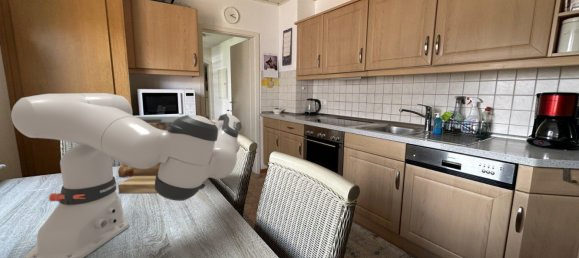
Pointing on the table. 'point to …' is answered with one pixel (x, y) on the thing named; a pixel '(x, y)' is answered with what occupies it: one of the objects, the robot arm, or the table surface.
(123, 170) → the bread roll
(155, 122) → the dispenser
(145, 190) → the board
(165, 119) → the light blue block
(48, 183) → the table surface
